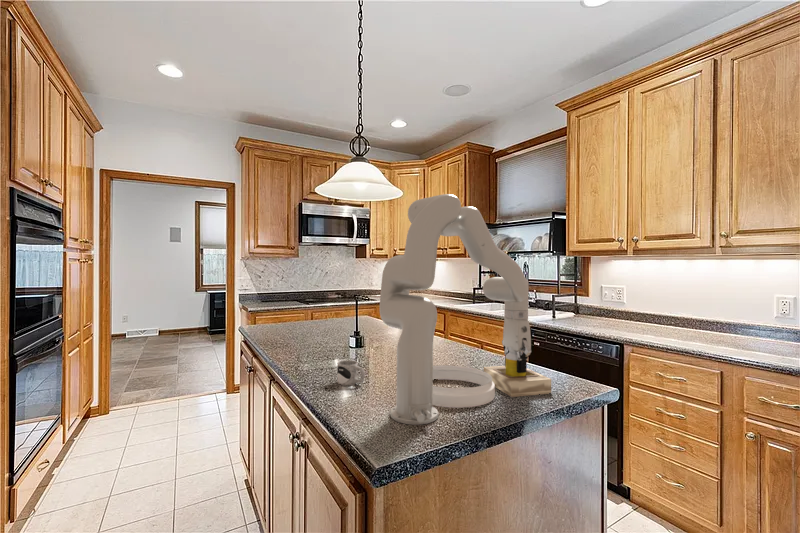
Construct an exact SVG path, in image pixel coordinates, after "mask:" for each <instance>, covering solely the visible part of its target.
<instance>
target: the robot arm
mask: <svg viewBox="0 0 800 533" xmlns="http://www.w3.org/2000/svg"><path fill="white" fill-rule="evenodd" d="M407 217H408V221H409V222H410V223H411V224H410V226H409V228H408V230H407V234H406V241H405V246H404V254H398V255H395V256H393V257H391V258H389V259H388V261H387V262H386V263H385V266H384V268H383V271H382V275H381V282H380V284H381V285H380V286H381V287H380V297H379V315H380V319H381V321H382V323H384V324H385V325H386V326H387V327H390V328H395V329H399V330H401V333H400V335H399V339H398V341H397V345H396V393H395V394H396V400H395V401H396V403H395V404H396V405H395V406H393V407H391V409H390V413H389V414H390V415H389V416H390V417H391V419H392V420H394V421H395V422H397V423H401V424H405V425H414V426H415V425H416V426H418V425H419V426H420V425H426V424H430V423H433V422H434V421H436V420H437V419H438V418H439V411H438V409H437V408H436V407H434V406H433V405H432V396H433V386H434V384H433V382H434V380H433V366H434V338H435V331H436V326H437V321H438V311H437V306H436V305H435V303H434V302H433V301H432V300H431V299H429V298H427V297H426V296H422V295H414V294H410V291H425V290H428V289H430V288H431V287H432V286H433V284H434V282H435V277H436V267H437V256H438V255H437V253H438V246H439V240H440V238H441V236H442V237H459V239H460V240H461V242H462V245H463V246H464V248H465V251H466V253H467V254H468V256H469V258H470V259H471V261H473V262H474V263H476V264H478V265H480V266H482V267H484V268H486V269H488V270H491V271H493V272H495V273H496V274H498V275H499V276H494V277H493V276H492V277H489V278H488V279H486V280H485V281H484V283H483V285H482V292H483V294H484V296H485V297H486V298H488V299H489V300H491V301H496V302H497V301H500V302H504V306H503V307H504V311H503V312H504V314H503V315H504V317H503V319H504V322H503V331H502V332H503V333H502V340H501V343H502V347H503V351H504V352H503V354H504V366H505V367H506V354H508V353H509V350H508V348H509V347H511V348H512V349H513V350H514V351H517V356H518V360H517V372H518V373H525V372H526V369H527V368H528V367H527V361H528V360H529V359H528V358H529V357H530V355H531V353H532V337H531V326H530V321H529V289H530V288H529V280H528V279H527V278H526V276H525V274H524V272H523V270H522V268H521V267H520V265H519V264H518V263H517V261H515V260H514V259H513V258H512V257H511V256H509V255H508V254H507V253H506V252H504V251H503V250H502V249H501V248H499V247H498V246H497V245H496V243H495V240H494V239H493V237H492V235H491V233H490V230H489V228H488V225H487V224H486V221H485V220H484V218H483V215H482V214H481V211H480V210H479V209H478V208H476V207H474V206H462V203H461V200H460V199H459V197H458V196H456V195H454V194H452V193H451V194H450V193H443V194H438V195H434V196H429V197H424V198H421V199H416V200H415V201H413V202H411V204H410V205H409V207H408V209H407ZM520 349H523V350H520ZM520 353H522V355H521V354H520Z"/></svg>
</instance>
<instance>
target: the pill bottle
mask: <svg viewBox="0 0 800 533" xmlns="http://www.w3.org/2000/svg"><path fill="white" fill-rule="evenodd" d="M508 350H509V353H508V354H506V371H505V374H506V375H508V376H510V377H516V376H526V372H525V373H518V372H517V360H518V356H517V351H514V350H513V349H512V348H511V347H509V348H508ZM520 350H523V349H520ZM520 354H521V355H522V354H523V353H520Z"/></svg>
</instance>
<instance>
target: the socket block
mask: <svg viewBox="0 0 800 533" xmlns="http://www.w3.org/2000/svg"><path fill="white" fill-rule="evenodd" d="M483 371H484V372H486V373H488V374H490V375H491V377H492V381H493V382H494V384H495V389H497V390H500V392H502V393H504V394H505V395H508V396H509V397H511V398H514V397H515V398H516V397H525V396H540V395H550V394H549V393H551V394H552V378H549V377H547V376H545V375H543V374H541V373H538V372H536V371H534V370H531V369H530V368H528V367H527V369H526V376H516V377H510V376H508V375H506V374H505V371H506V367H505V365H497V366H496V365H495V366H484V367H483ZM539 394H540V395H539Z"/></svg>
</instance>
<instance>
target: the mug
mask: <svg viewBox="0 0 800 533" xmlns="http://www.w3.org/2000/svg"><path fill="white" fill-rule="evenodd" d="M358 371H359V372H360V378H358ZM336 377H337V380H336V381H337V382H336V383H337V384H338V385H339V384H341V385H340V386H344V385H349V386H354V385H357V384H359V383H360V384H361V383H363V382H364V381H365V370H364V368H362V367H360V366H359V365H358V362H357V361H355V360H341V361H338V362H337V376H336ZM356 383H357V384H356ZM353 384H354V385H353Z"/></svg>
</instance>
